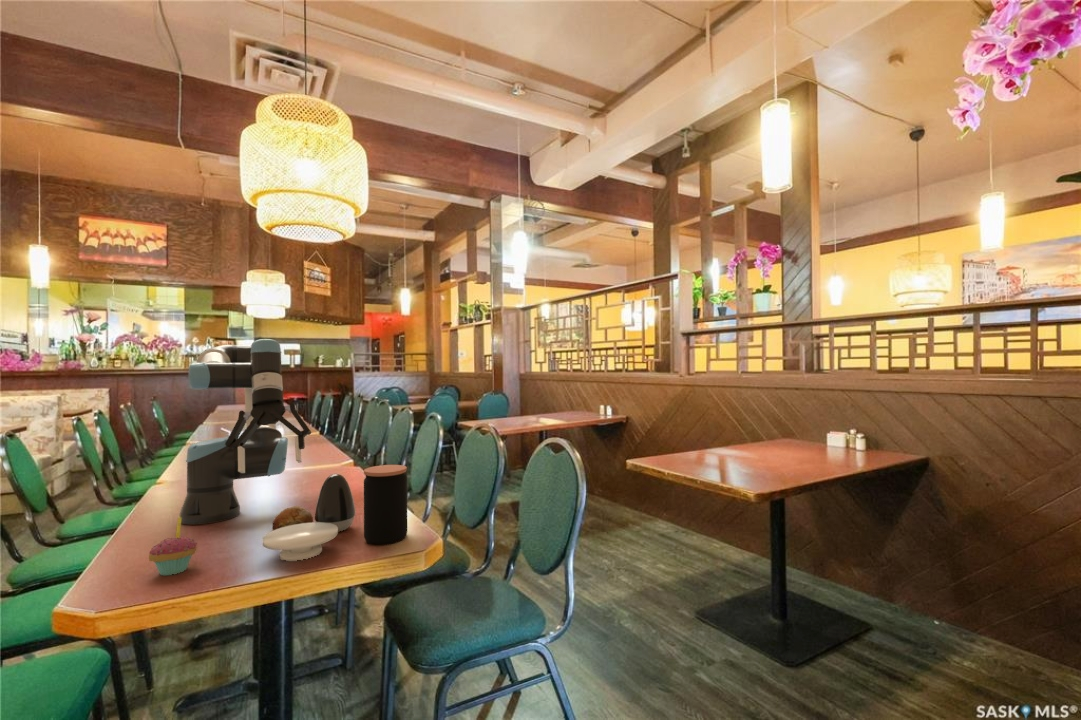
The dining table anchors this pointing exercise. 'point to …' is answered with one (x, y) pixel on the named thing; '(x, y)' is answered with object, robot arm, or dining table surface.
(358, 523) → the dining table surface
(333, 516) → the black egg shaped dome
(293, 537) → the cake stand
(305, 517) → the bread roll
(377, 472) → the coffee jar
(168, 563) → the cupcake
